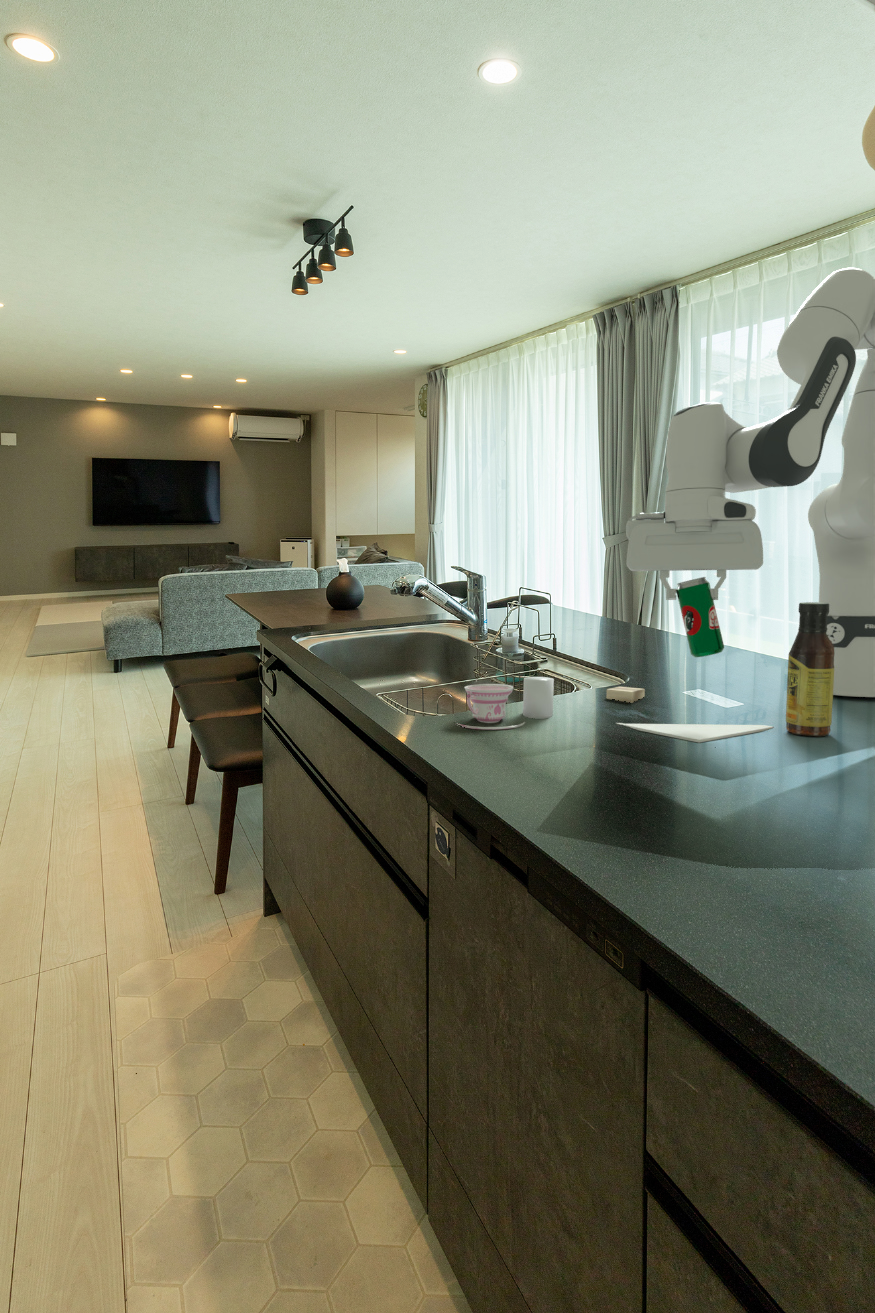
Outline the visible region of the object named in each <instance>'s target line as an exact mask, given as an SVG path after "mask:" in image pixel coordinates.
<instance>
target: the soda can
mask: <svg viewBox="0 0 875 1313" xmlns="http://www.w3.org/2000/svg"><path fill="white" fill-rule="evenodd" d="M676 585H677V587H676V589H677V590H676V597H677V599H678V600H677V601H678V604H679V609H680V614H681V618H682V622H683V626H684V630H685V631H684V632H685V635H686V638H687V643H688V647H689V651H690V655H691V656H692V657H694V658H703V657H709V656H712V655H713V656H714V655H717V654H720V653H722V652H723V651H724V649H725V644H724V640H723V636H722V631H721V627H720V623H719V619H718V613H717V611H716V610H717V609H716V605H715V600H713V599H712V596H711V592H710V589H712V588H711V584H710V582H709V581H708V580H707V579H706V576H702V577H698V578H694V579H693V578H692V579H690V580H685V581H682V582H681V581H680V582H678V583H677V584H676Z"/></svg>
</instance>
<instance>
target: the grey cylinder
mask: <svg viewBox="0 0 875 1313" xmlns="http://www.w3.org/2000/svg"><path fill="white" fill-rule="evenodd" d="M554 683H555V679H554V678H552V677H545V676H527V677H526V676H525V677H524V678H523V694H522V698H523V699H522V700H523V701H522V716H524V717H525V718H527V717H528V718H529V719H532V718H533V720H545V719H549V718H550V719H551V718H552V717H553V716H554V714H553V713H554V690H555V689H554V686H555V685H554ZM534 718H535V719H534Z"/></svg>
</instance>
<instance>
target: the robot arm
mask: <svg viewBox="0 0 875 1313" xmlns="http://www.w3.org/2000/svg"><path fill="white" fill-rule="evenodd" d="M856 350H866V352H867V353H866V354H867V358H866V360H865V363H864V365H863V367H862V369H861V371H860V374H859V377H858V379H857V380H858V381H857V383H856V386H855V387H854V388H855V389H854V392H853V395H852V400H851V403H850V407H849V411H848V414H847V417H846V421H845V425H844V428H843V432H842V436H841V445H842V448H843V468H842V474H841V478H840V479H839V481H838V482H837V483H834V484H831V485H828V487H826V488H824V489H823V490H822V491H821V492H820V493H818V495H816V496H815V498H814V499H813V501H812V502H811V504H810V505H809V508H808V512H807V518H808V523H809V526H810V528H811V529H812V531H813V537H814V543H815V544H814V545H815V550H816V555H817V563H818V569H819V570H818V572H819V587H818V588H819V589H818V592H819V593H818V602H823V603H829V614H828V615H827V632H826V634H827V636H828V637H829V639H830V641H832V644H833V646H834V653H835V654H834V686H833V696H842V697H859V698H861V697H862V698H863V697H865V698H875V277H874V276H872V274H871V273H870V272H868V271H866V270H864V269H861V268H857V267H846V268H841V269H838V270H836V271H833V272H832V273H830V274H829V275H828V276H827V277H826V278H824V279H823V280H822V282H821V283H819V284H818V286H817V287H816V288H815V289H814V290H813V291H812V292H811V293H810V295H809V296H807V298H806V299H805V301H803V303H802V305H801V306H800V308H798V310H797V312H795V314H794V316H793V318H792V319H791V320H790V322H789V323H788V325H787V327H786V329H785V330H784V332H783V334H782V336H781V338H780V341H779V343H778V345H777V348H776V356H777V360H778V364H779V367H780V368H781V370H782V372H783V373H784V374H785V375H786V377H788V378H789V379H790V380H791V381H793V382H795V383H796V384H798V385H800V386H799V388H798V391H797V393H796V394H795V397H794V399H793V401H792V403H791V405H790V406H789V408H788V409H787V410H786V411H784V412H783V413H782V414H780V415H779V416H777V417H774V418H772V419H770V420H768V421H766V422H762V423H759V424H755V425H752V426H750V427H747V426H745V425H743V424H741V423H739V422H737V421H736V420H734V419H733V418H732V417H731V416H730V415H729V414H728V413H727V412H726V410H725V408H724V405H723V404H722V403H721V402H717V401H710V402H709V401H708V402H702V403H697V404H695V405H690V406H687V407H684V408H681V409H680V410H678V411H676V412H675V413H674V415H673V416H672V417H671V420H670V423H669V426H668V431H667V432H668V433H667V438H666V439H667V440H666V452H665V454H666V459H665V467H666V470H667V474H668V477H667V478H668V480H667V483H666V486H665V492H664V494H665V495H664V496H665V497H664V498H665V499H664V511H659V512H657V511H655V512H649V513H645V512H639V513H636V514H635V515H634V516H631V517H629V518H628V520H627V522H626V524H625V536H626V539H627V540H628V543H627V544H628V545H627V552H626V562H625V563H626V564H625V565H626V567H627V568H628V569H629V570H630V571H631V572H658V573H659V577H658V578H659V580H660V582H661V583H662V585H663V586H664V589H666V590H665V599H666V601H674V600H675V601H676V600H677V592H676V590H677V588H672V587H671V585H670V582H668V580H667V579H669V578H670V574H671V573H670V572H672V571H716V577H717V578H719V580H718V581H717V582H716V584H715V586H714V588H711V589H710V592H711V596H712V599H713V601H718V600H719V589H720V588H721V587H722V586H723V584H724V582H725V580H726V578H727V571H744V570H745V571H750V570H751V571H752V570H755V571H756V570H759V569H761V567H762V566H763V564H764V548H763V545H764V544H763V538H762V533H761V528H760V527H759V525H758V524H757V523H756V522H755V521H753V520H755V517H756V514H757V510H756V507H755V506H754V505H753V504H751V503H749V502H748V503H747V502H744V501H740V500H739V501H738V500H735V499H731V498H727V497H726V493H743V492H749V491H751V492H752V491H756V490H762V489H769V488H783V487H793V486H798V485H800V484H803V483H804V482H805V481H807V480H808V479H809V478H810V477H811V476H812V475H813V473H814V472H815V470H816V469H817V467H818V465H819V463H820V460H821V456H822V452H823V448H824V443H825V439H826V435H827V432H828V430H829V428H830V425H831V423H832V421H833V419H834V417H835V414H836V412H837V410H838V408H839V406H840V404H841V402H842V400H843V397H844V396H845V393H846V391H847V388H848V386H849V384H850V381H851V380H852V377H853V374H854V372H855V368H856V363H857V355H856Z"/></svg>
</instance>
